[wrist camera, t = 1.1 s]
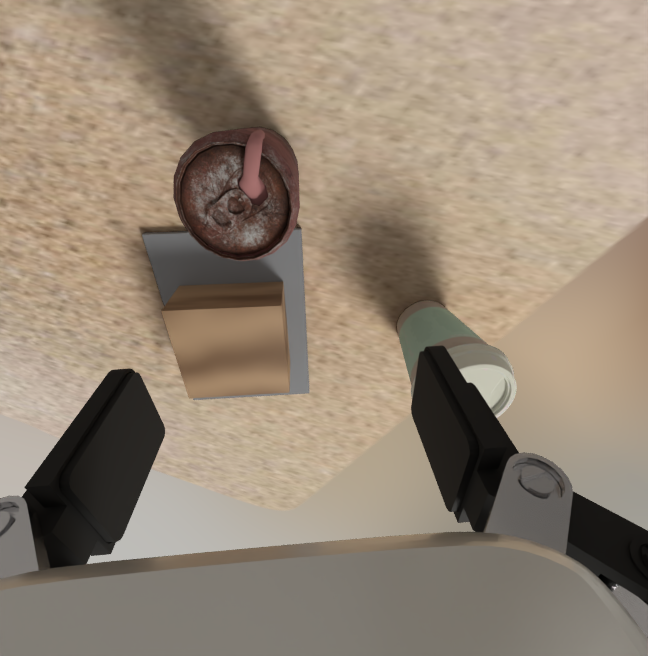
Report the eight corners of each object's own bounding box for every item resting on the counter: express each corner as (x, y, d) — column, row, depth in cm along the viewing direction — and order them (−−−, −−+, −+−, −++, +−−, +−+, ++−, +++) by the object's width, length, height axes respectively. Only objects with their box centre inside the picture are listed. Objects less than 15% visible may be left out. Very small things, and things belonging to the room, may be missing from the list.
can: (306, 136, 26) (314, 147, 14) (290, 215, 29) (285, 278, 18) (228, 112, 25) (167, 104, 13) (220, 197, 28) (165, 252, 16)
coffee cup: (414, 365, 40) (453, 448, 30) (369, 324, 36) (396, 403, 26) (474, 321, 37) (541, 397, 27) (432, 272, 33) (491, 338, 23)
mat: (144, 232, 29) (141, 234, 29) (301, 227, 30) (301, 229, 29) (194, 396, 40) (193, 399, 39) (309, 389, 41) (309, 393, 40)
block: (179, 285, 31) (161, 311, 27) (283, 281, 32) (281, 305, 28) (201, 366, 37) (189, 398, 33) (290, 361, 37) (289, 392, 33)
